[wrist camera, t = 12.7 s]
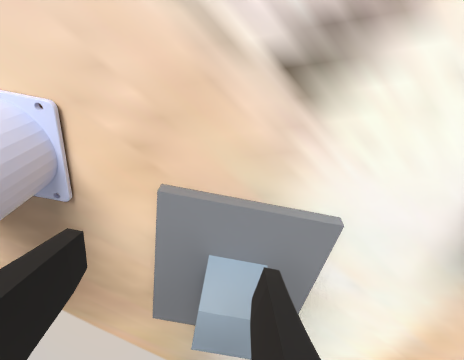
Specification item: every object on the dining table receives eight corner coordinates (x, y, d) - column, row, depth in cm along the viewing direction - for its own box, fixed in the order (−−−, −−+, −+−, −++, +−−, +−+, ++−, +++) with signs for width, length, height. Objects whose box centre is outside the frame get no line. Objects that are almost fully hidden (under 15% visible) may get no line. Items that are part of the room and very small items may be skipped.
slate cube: (202, 292, 24) (191, 349, 20) (209, 255, 22) (198, 310, 17) (254, 301, 24) (254, 360, 20) (267, 265, 22) (271, 323, 17)
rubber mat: (155, 309, 28) (152, 317, 27) (161, 183, 20) (157, 191, 19) (283, 331, 28) (284, 340, 27) (340, 217, 20) (344, 226, 19)
